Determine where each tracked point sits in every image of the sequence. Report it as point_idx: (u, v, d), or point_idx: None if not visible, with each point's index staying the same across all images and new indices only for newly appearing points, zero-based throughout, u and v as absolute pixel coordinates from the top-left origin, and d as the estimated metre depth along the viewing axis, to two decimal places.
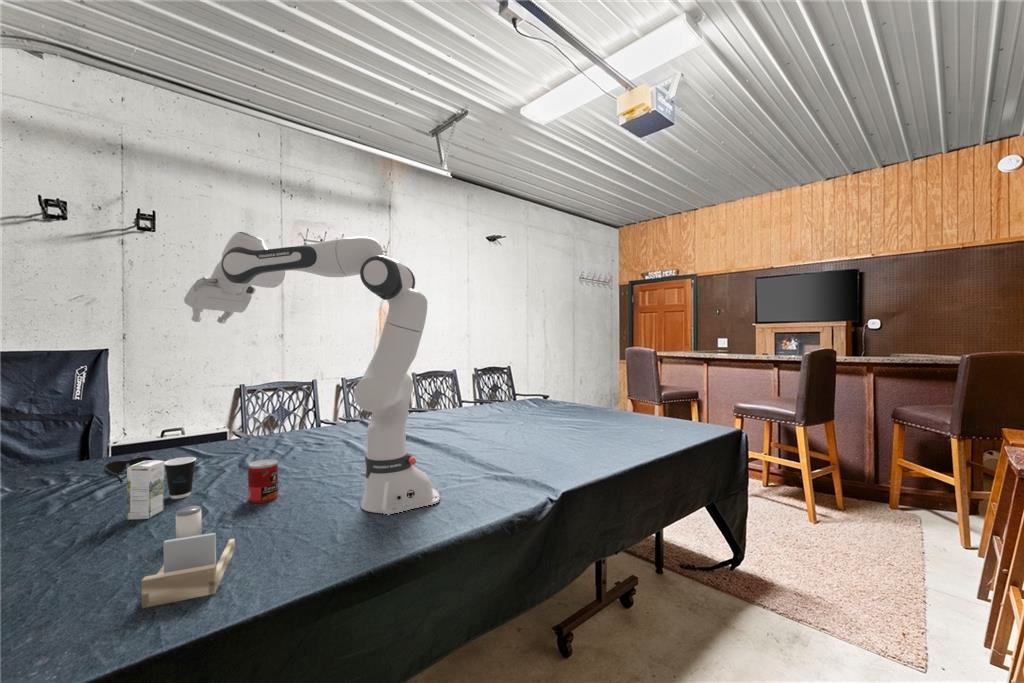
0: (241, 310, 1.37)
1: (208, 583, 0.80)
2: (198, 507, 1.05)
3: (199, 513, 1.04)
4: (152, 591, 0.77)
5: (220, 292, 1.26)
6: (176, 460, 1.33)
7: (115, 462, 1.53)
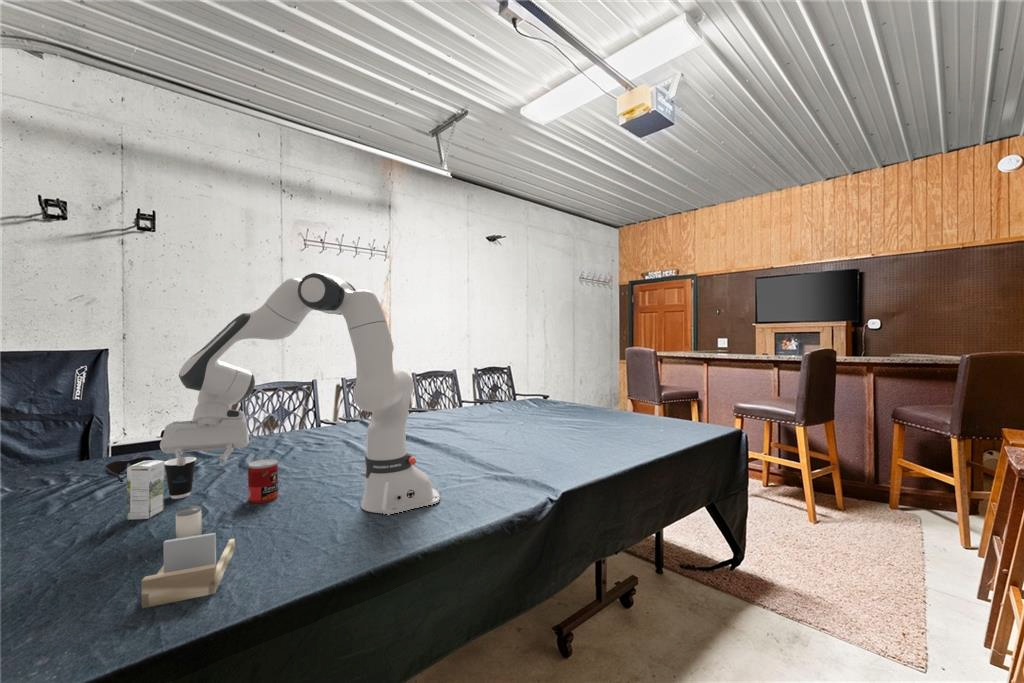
0: (239, 438, 1.21)
1: (208, 583, 0.80)
2: (198, 507, 1.05)
3: (199, 513, 1.04)
4: (152, 591, 0.77)
5: (194, 426, 1.19)
6: (176, 460, 1.33)
7: (116, 462, 1.53)
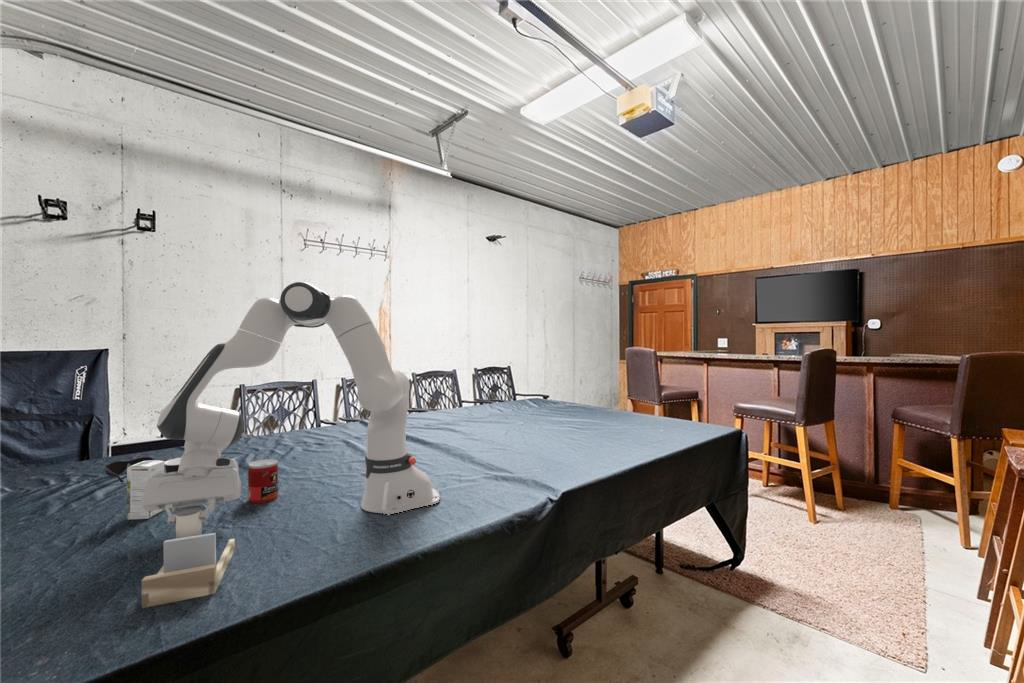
0: (230, 490, 1.08)
1: (208, 583, 0.80)
2: (198, 507, 1.05)
3: (199, 513, 1.04)
4: (152, 591, 0.77)
5: (180, 478, 1.07)
6: (176, 460, 1.33)
7: (116, 462, 1.52)
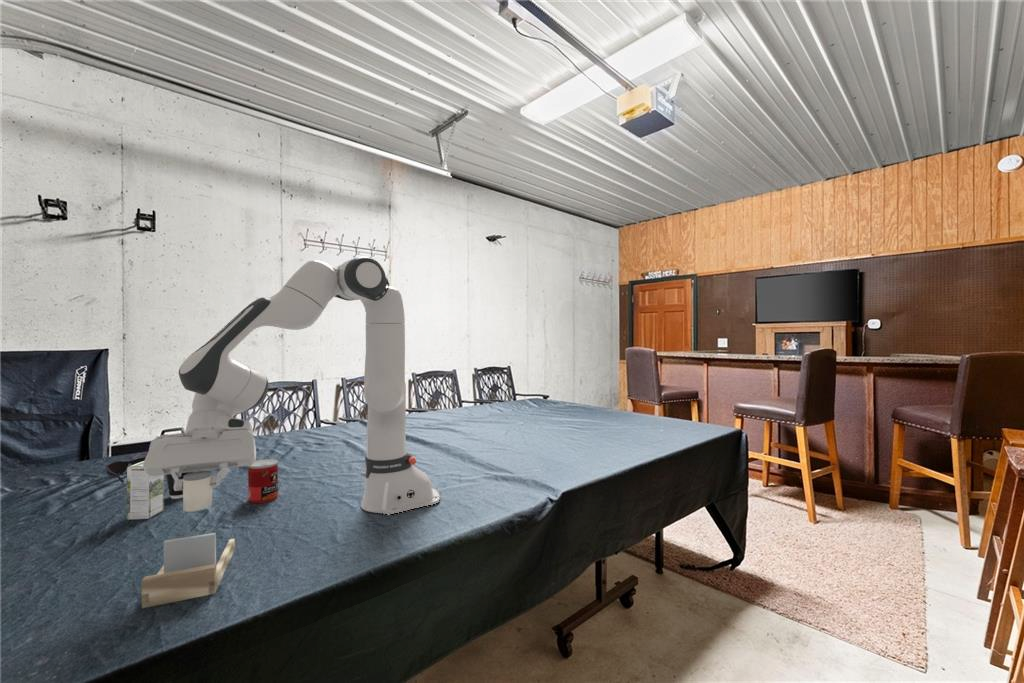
0: (244, 454, 0.95)
1: (208, 583, 0.80)
2: (208, 472, 0.91)
3: (210, 478, 0.90)
4: (152, 591, 0.77)
5: (188, 440, 0.94)
6: None
7: (117, 462, 1.52)
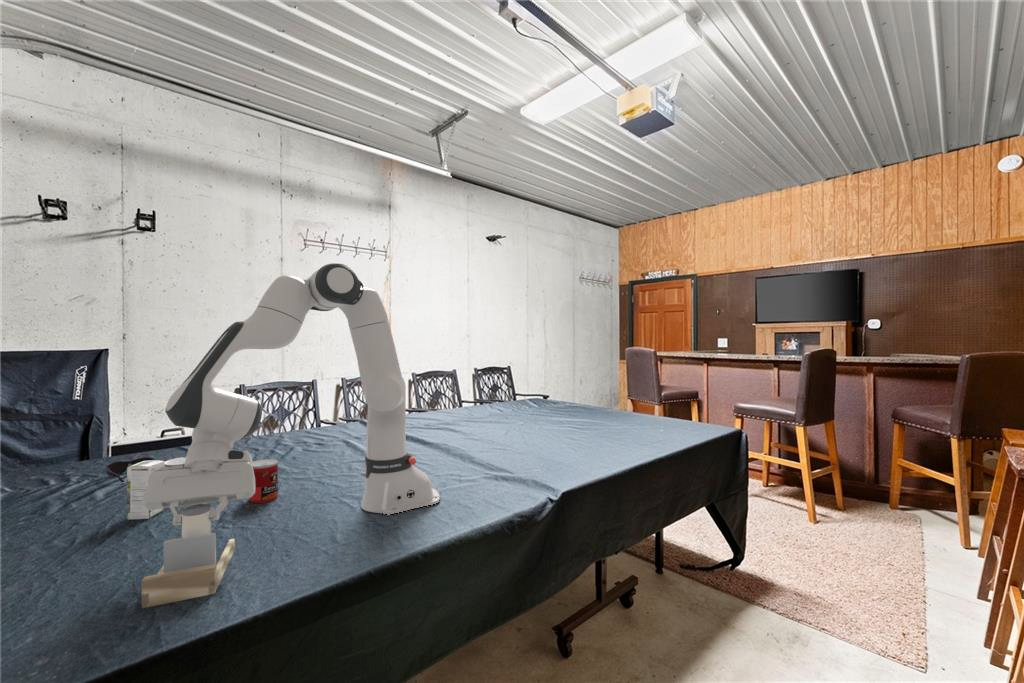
0: (244, 487, 0.95)
1: (208, 583, 0.80)
2: (208, 506, 0.91)
3: (209, 512, 0.90)
4: (152, 591, 0.77)
5: (187, 473, 0.94)
6: (176, 460, 1.33)
7: (117, 462, 1.52)
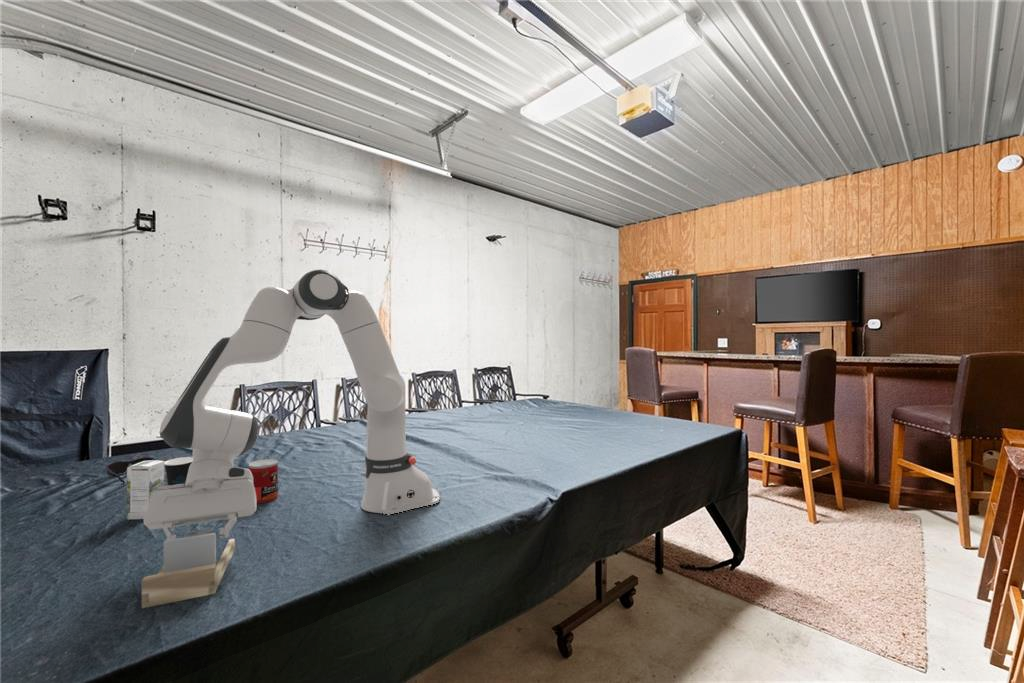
0: (245, 505, 0.95)
1: (208, 583, 0.80)
2: (209, 532, 0.91)
3: None
4: (152, 591, 0.77)
5: (188, 492, 0.94)
6: (176, 460, 1.33)
7: (117, 462, 1.52)
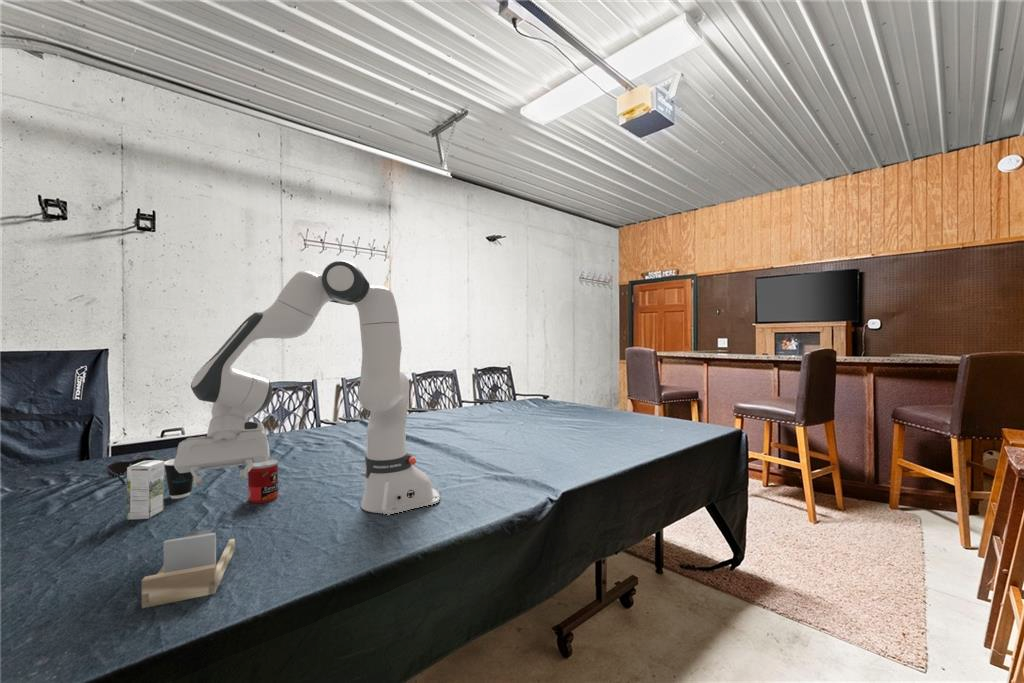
0: (260, 452, 1.10)
1: (208, 583, 0.80)
2: (209, 532, 0.91)
3: None
4: (152, 591, 0.77)
5: (210, 441, 1.09)
6: None
7: (118, 463, 1.52)
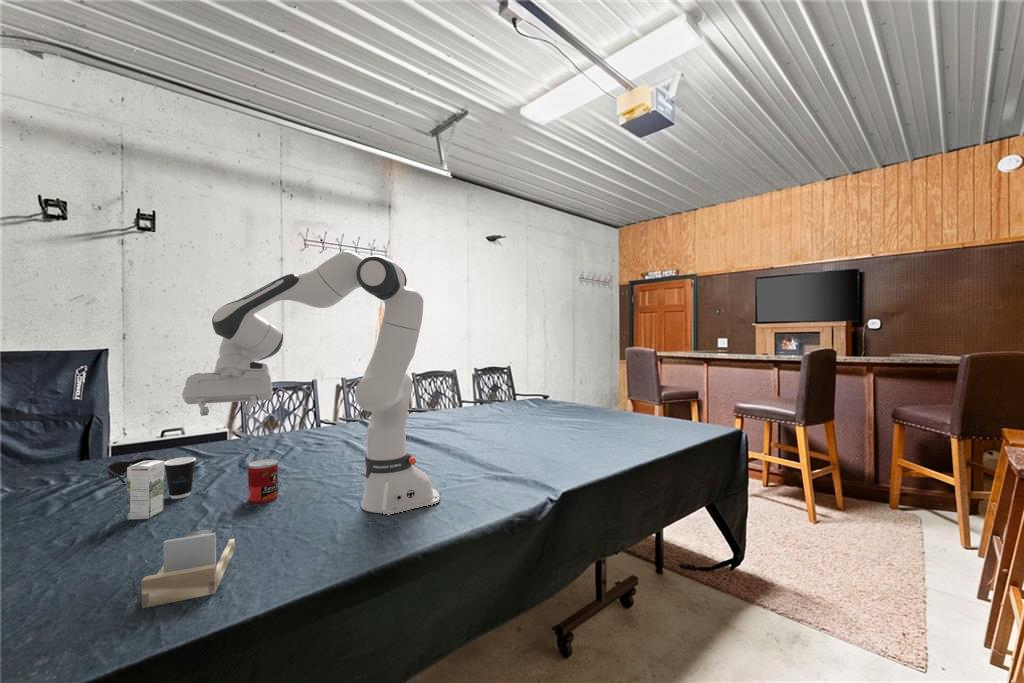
0: (263, 390, 1.16)
1: (208, 583, 0.80)
2: (209, 532, 0.91)
3: None
4: (152, 591, 0.77)
5: (217, 377, 1.14)
6: (176, 460, 1.33)
7: (118, 463, 1.52)
